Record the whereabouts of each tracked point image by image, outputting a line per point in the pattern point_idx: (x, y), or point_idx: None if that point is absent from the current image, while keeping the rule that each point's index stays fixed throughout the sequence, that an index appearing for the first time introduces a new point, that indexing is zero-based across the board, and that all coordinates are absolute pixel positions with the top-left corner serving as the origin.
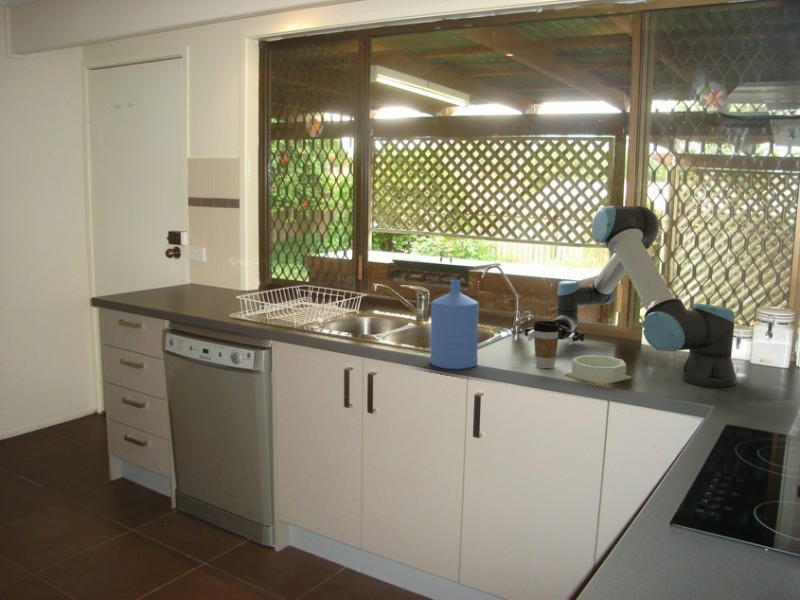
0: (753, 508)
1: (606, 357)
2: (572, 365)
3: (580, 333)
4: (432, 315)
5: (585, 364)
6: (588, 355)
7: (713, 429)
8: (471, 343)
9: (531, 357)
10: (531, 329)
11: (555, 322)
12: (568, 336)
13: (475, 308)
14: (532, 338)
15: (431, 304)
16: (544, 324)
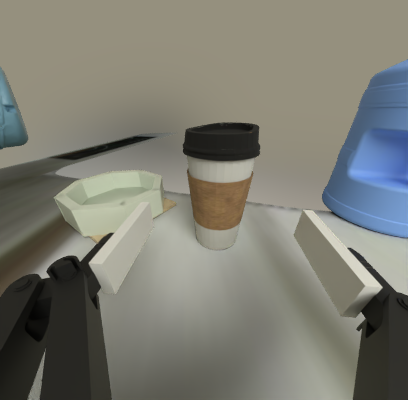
0: (129, 139)
1: (78, 205)
2: (161, 199)
3: (35, 285)
4: None
5: (146, 174)
6: (117, 205)
7: (92, 156)
8: (337, 161)
9: (292, 321)
10: (401, 298)
11: (196, 132)
12: (106, 376)
13: (375, 84)
14: (314, 267)
15: None
16: (220, 124)
